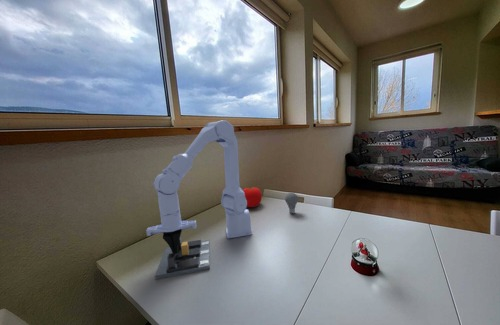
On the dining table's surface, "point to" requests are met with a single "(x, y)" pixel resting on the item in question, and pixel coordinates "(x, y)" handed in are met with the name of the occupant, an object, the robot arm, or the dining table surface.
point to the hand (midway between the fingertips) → (175, 252)
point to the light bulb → (291, 201)
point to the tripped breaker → (184, 248)
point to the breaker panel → (185, 260)
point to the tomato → (252, 196)
